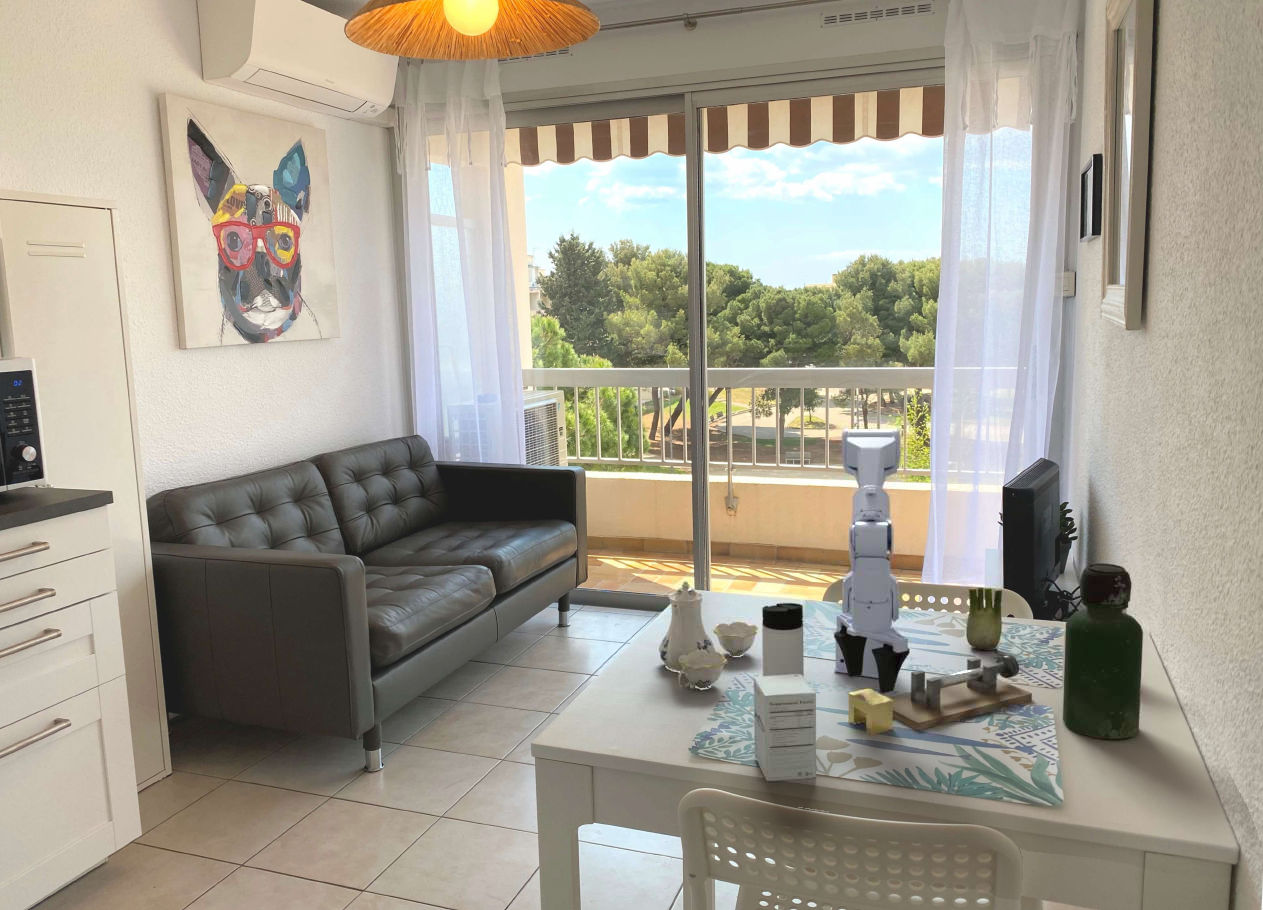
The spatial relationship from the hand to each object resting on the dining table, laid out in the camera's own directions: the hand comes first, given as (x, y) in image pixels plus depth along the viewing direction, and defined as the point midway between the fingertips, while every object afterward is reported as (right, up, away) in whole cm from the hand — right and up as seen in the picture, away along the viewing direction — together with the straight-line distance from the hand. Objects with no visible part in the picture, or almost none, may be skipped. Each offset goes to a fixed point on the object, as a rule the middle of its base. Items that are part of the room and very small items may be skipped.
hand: (870, 683), depth 148 cm
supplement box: (-15, -9, -13) cm, 22 cm away
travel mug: (-13, -7, +1) cm, 15 cm away
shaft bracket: (+16, -5, +8) cm, 18 cm away
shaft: (+20, -3, +10) cm, 22 cm away
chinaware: (-24, -4, +28) cm, 37 cm away
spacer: (0, -7, +1) cm, 7 cm away
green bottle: (+35, -6, -2) cm, 35 cm away
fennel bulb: (+30, -2, +34) cm, 45 cm away
